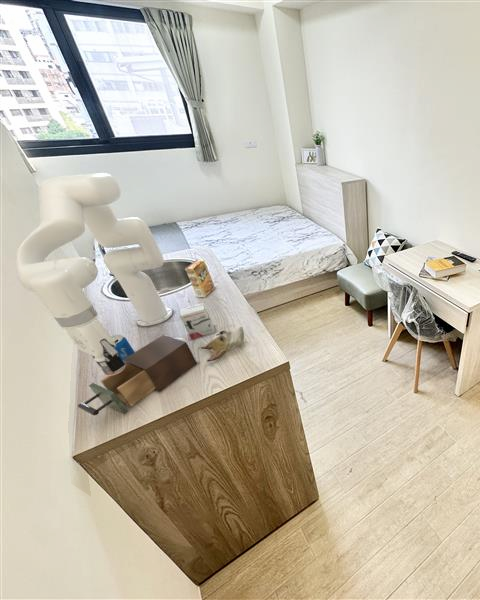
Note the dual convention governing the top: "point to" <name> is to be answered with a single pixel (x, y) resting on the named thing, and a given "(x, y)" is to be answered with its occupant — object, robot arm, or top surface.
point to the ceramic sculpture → (224, 343)
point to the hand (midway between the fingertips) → (112, 365)
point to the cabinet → (163, 360)
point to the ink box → (197, 320)
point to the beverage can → (122, 346)
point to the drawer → (120, 390)
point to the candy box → (200, 278)
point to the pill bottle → (104, 366)
